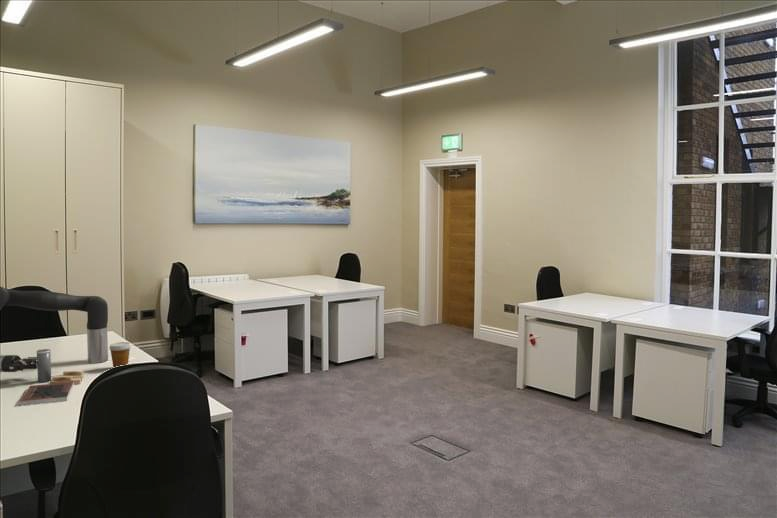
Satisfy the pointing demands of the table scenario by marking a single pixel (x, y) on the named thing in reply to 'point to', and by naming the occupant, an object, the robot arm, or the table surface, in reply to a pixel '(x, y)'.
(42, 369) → the domed lid canister
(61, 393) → the picture frame
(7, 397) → the table surface
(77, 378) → the stand
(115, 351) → the disposable coffee cup
